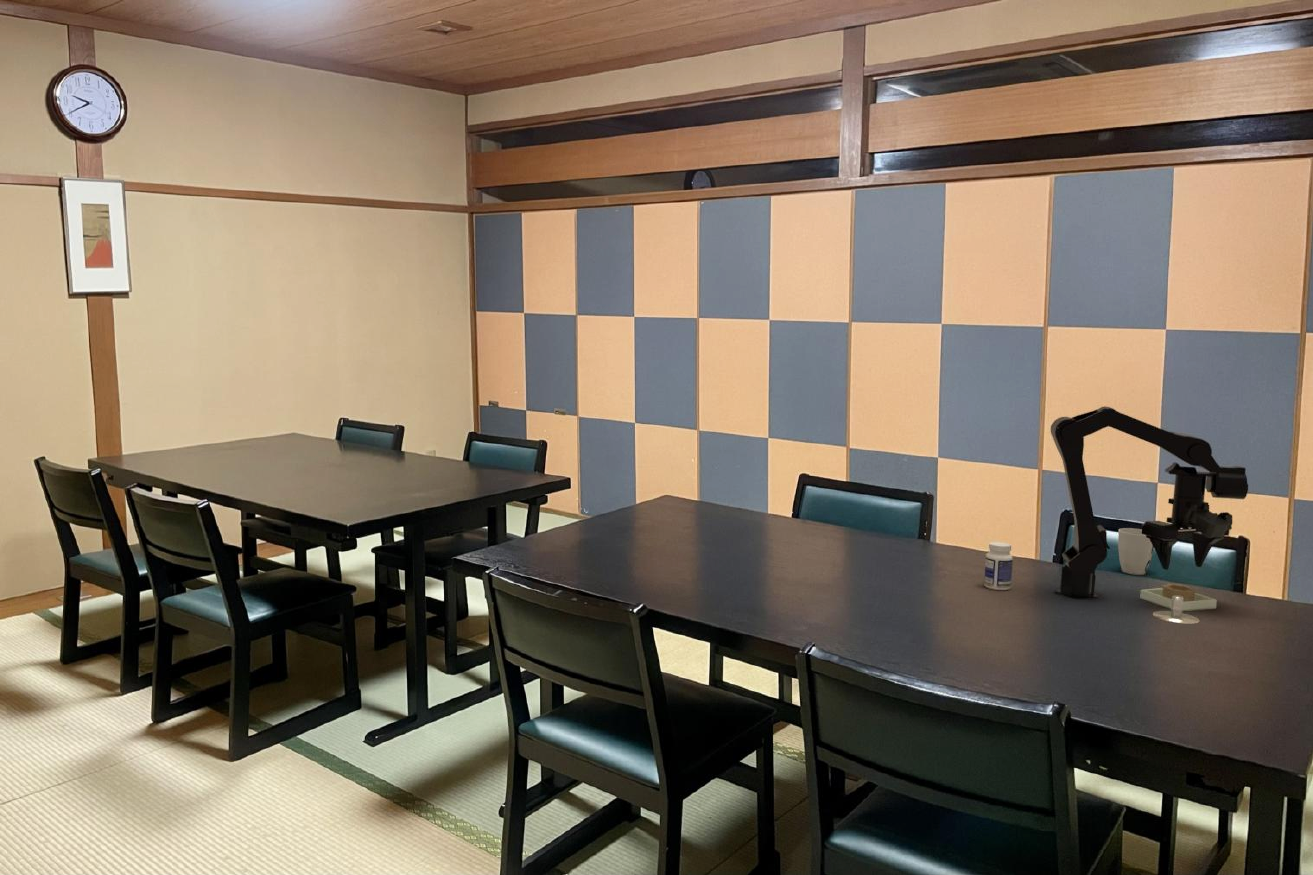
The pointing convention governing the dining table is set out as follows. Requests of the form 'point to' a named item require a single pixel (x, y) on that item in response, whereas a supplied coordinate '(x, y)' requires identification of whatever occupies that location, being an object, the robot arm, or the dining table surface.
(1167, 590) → the ring
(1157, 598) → the dish
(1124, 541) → the cup
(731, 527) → the dining table surface
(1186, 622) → the clear stemmed base
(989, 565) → the pill bottle
